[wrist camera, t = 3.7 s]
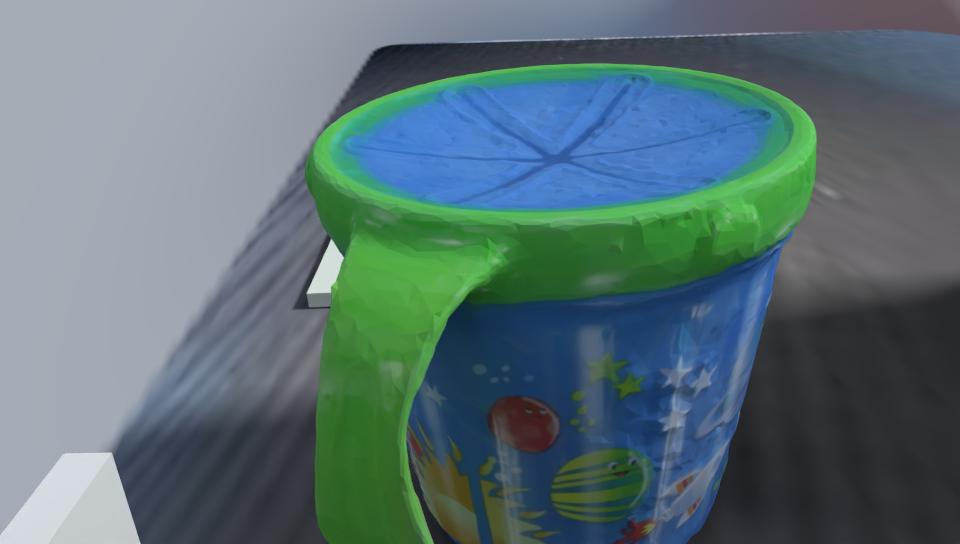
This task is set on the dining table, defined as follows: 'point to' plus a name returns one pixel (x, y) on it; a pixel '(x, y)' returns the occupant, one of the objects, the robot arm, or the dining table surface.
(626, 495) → the snack cup
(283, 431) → the dining table surface
